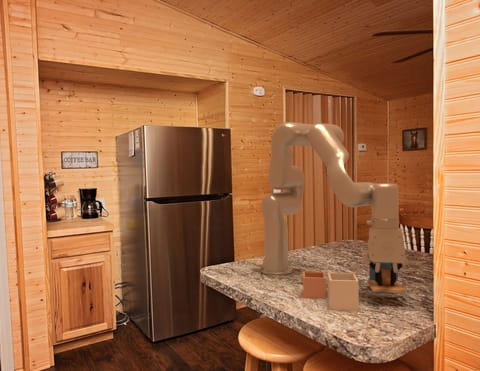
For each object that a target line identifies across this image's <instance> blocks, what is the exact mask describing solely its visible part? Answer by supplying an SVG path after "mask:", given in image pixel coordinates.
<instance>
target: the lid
mask: <svg viewBox="0 0 480 371" xmlns="http://www.w3.org/2000/svg"><path fill="white" fill-rule="evenodd" d="M380 272H381V285H380V286H379V285H378V284H377V282H375V280H369V279H368V280H367V281H366V282H367V284H368V287H369V286H370V287H369V289H370V288H371V289H370V290H371V291H372V293H384V292H389V293H388V294H391V293H393V294H394V293H395V294H397V293H398V294H406V289H405V288H404V287H403V285H402V284H400V282H399V280H398V281H396V282H395V286H392V285H391V268H387V267H381V268H380Z"/></svg>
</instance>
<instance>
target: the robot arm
mask: <svg viewBox="0 0 480 371" xmlns="http://www.w3.org/2000/svg"><path fill="white" fill-rule="evenodd" d="M344 141H345V134H344V131H343V129H342V128H341V127H340V126H339V125H336V124H332V123H323V122H322V123H315V124H310V123H302V122H295V121H294V122H290V121H289V122H288V121H287V122H283V123H281V124H279V125H277V126H276V127H275V128H274V130H273V132H272V134H271V141H270V147H271V148H270V150H271V151H270V152H271V153H270V154H271V155H270V159H269V160H270V161H269V167H268V178H267V182H268V183H267V184H268V186H269V187H270V188H271V189H273V190H276V191H277V190H279V192H271V193H268V194H266V195H264V196H263V198H262V199H261V203H260V205H261V206H260V207H261V212H262V213H261V214H262V219H263V235H264V237H263V241H264V242H263V243H264V245H263V246H264V247H263V248H264V252H263V253H264V254H263V255H264V258H263V259H261V260H253V266H256V267H260V272H261V273H262V274H265V275H267V276H268V275H269V276H286V275H291V273H293V267H291V266H289V226H288V223H287V221H286V219H285V216H290V215H291V216H292V215H296V214H297V213H299V211H300V210H301V208H302V204H303V199H304V190H305V183H306V182H305V180H306V176H305V174H304V171H303V169H302V168H301V167H300V166H297V165H293V158H294V156H293V155H294V154H293V150H292V148H291V147H293V146H294V147H295V146H298V147H312V149H313V150H314V151H315V153H316V154H317V156H318V157H319V158H320V160H321V161H322V163H323V164H324V165H325V167H326V177H327V181H328V185H329V187H330V189H331V191H332V192H333V193H334V194H335V197H337V199H338V200H339V201H340V203H342V205H344V206H346V207H348V208H359V207H366V206H371V218H370V219H369V220H368V219H367V220H366V225H367V226H368V225H369V226H371V227H369V232H368V236H367V247H366V248H367V249H366V253H365V254H364V257H363V258H362V260H361V261H362V263H363V264H365V265H367V266H370V267H371V268H372V269H373V270H374V271H375V282H377V284H378V285H379V286H380V285H381V272H380V270H379V269H380V263H391V285H392V286H395V282H396V273H397V272H398V273H399V270H400V269H402V268H403V267H405V266H407V265H409V264H410V262H409V259H408V257H407V256H406V252H405V240H404V234H403V230H402V228H400V226H399V225H400V224H399V223H400V222H399V221H400V218H399V217H400V216H399V209H400V208H399V207H400V206H399V205H400V204H399V200H400V196H399V195H400V194H399V189H400V188H399V186H398V184H395V183H386V182H385V183H382V182H381V183H375V182H369V181H367V182H366V181H362V182H354V181H353V180H352V178H351V177H350V175H349V174H348V172H347V171H346V169H345V164H346V163H347V162H348V160H349V157H350V154H349V151H348V150H347V149H346V148H345V146H344V145H343V142H344ZM369 260H370V261H369ZM372 262H374V264H373V263H372Z"/></svg>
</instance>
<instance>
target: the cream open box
mask: <svg viewBox="0 0 480 371" xmlns="http://www.w3.org/2000/svg"><path fill="white" fill-rule="evenodd" d="M359 290H360V289H359V280H358V278H357V275H356V273H351V272H349V273H348V272H327V302H328V308H329V310H333V311H334V310H339V311H355V312H356V311H357V312H358V311H360V310H359V303H360V302H359V299H360V298H359V293H360V292H359Z"/></svg>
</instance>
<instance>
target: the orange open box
mask: <svg viewBox="0 0 480 371" xmlns="http://www.w3.org/2000/svg"><path fill="white" fill-rule="evenodd" d="M302 291H303V292H302V298H303V299H319V300H320V299H321V300H323V299H325V300H326V299H327V277H326V272H325V271H302Z"/></svg>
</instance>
